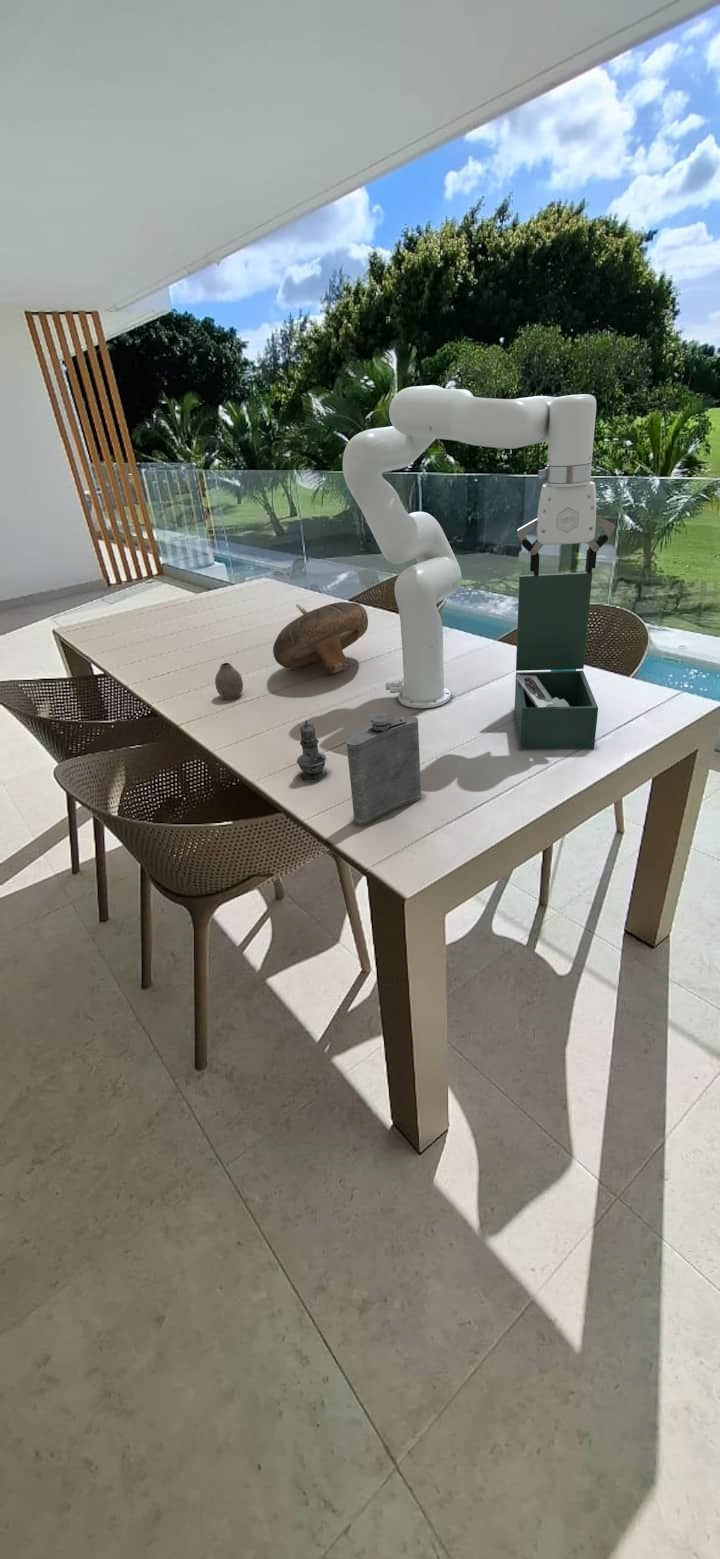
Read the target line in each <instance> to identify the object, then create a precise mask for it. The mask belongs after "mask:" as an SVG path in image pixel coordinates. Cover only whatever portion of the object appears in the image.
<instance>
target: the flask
mask: <svg viewBox="0 0 720 1559" xmlns="http://www.w3.org/2000/svg"><path fill="white" fill-rule="evenodd" d="M369 720H370V723H371V727H370V728H368V729H365V730H363V731H360V732H358V733H357V734H354V735H353V736H350V737H349V738H348V739H346V741H345V742H346V752H347V763H348V772H349V779H350V780H349V781H350V791H351V801H352V810H353V821H354V823H355V824H356V825H358V826H366V825H368V824H370V823H371V822H373V821H374V820H376V819H377V818H379V817H381V816H383V815H385V814H387V813H389V812H391V811H394V810H395V809H398V808H401V807H403V806H406V805H408V804H411V803H415V802H418V801H420V800H421V799H422V785H421V784H422V782H421V758H420V757H421V756H420V735H419V718H418V717H416V716H413V715H407V716H404V717H403V716H402V717H400V718H396V719H391V716H390V715H389V714H388V713H385V712H384V713H383V712H382V713H375V714H373V715H371V716H370V719H369Z"/></svg>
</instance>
